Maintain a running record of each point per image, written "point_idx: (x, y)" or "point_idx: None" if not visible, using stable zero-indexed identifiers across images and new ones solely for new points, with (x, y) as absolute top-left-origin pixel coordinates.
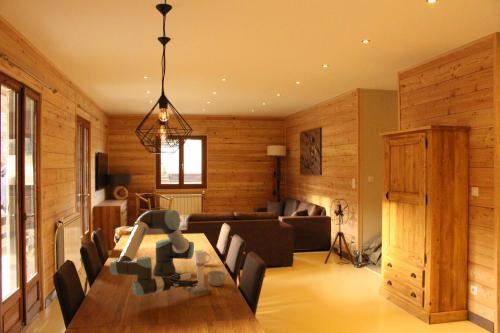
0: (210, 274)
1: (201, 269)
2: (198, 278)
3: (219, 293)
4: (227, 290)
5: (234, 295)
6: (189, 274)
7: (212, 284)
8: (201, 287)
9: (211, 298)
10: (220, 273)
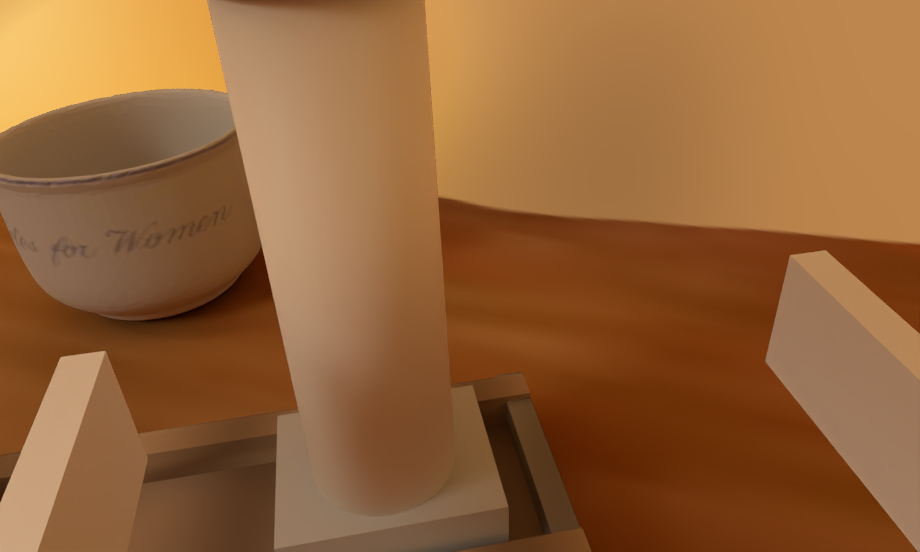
0: (129, 181)
1: (429, 81)
2: (411, 333)
3: (547, 334)
4: (464, 254)
5: (691, 248)
6: (105, 406)
7: (191, 301)
8: (456, 446)
9: (774, 468)
10: (96, 133)
